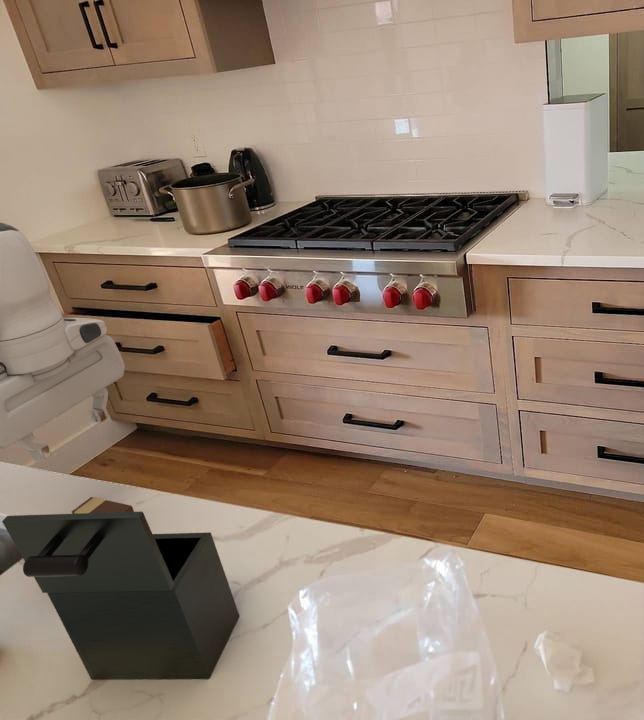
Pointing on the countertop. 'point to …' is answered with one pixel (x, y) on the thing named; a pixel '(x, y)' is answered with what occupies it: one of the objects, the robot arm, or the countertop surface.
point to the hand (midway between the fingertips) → (73, 438)
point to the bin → (156, 618)
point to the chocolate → (101, 506)
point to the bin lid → (90, 552)
